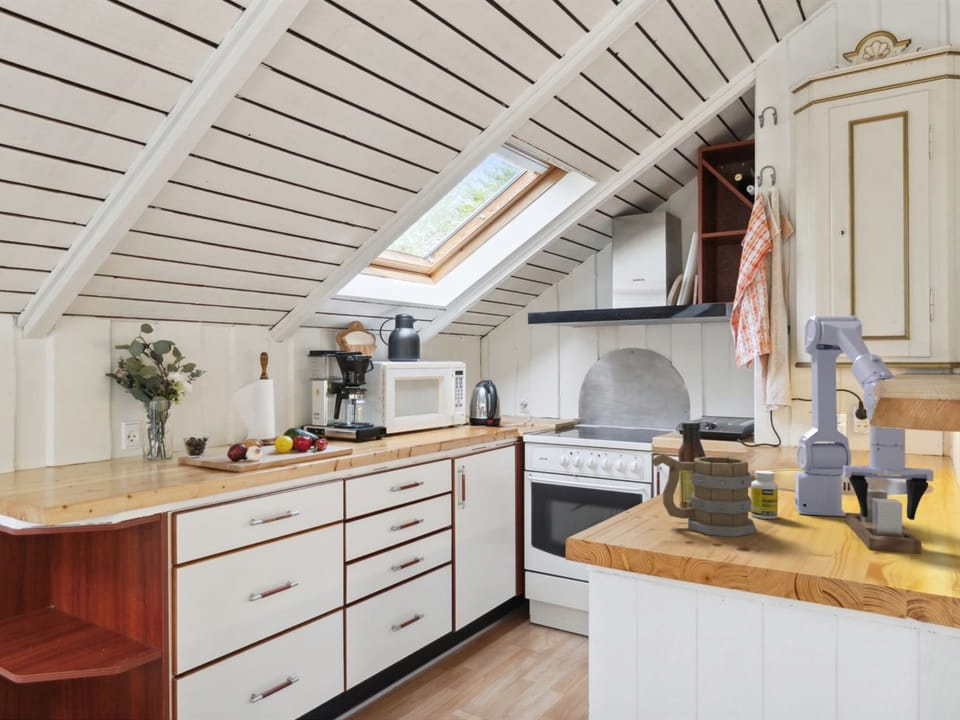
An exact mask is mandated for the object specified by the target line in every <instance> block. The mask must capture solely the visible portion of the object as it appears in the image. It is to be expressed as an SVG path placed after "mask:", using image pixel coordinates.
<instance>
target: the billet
mask: <svg viewBox="0 0 960 720" xmlns="http://www.w3.org/2000/svg"><path fill="white" fill-rule="evenodd" d="M872 503H873V536H886V537H901V538H902V526H903V503H902V502H900V500H898V499H893V498H887V499H876V498H872Z"/></svg>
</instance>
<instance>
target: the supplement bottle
mask: <svg viewBox="0 0 960 720" xmlns="http://www.w3.org/2000/svg"><path fill="white" fill-rule="evenodd" d="M754 478H755V480H752V481H751V487H750V499H751V502H752V504H751V512H750V514H751V517H754V518H756V519H762V520H772V519H774V520H775V519H776V518H777V517H778V508H779V507H778V505H779V504H778V497H779V496H778V495H779V487H778V484H777V482H775V481H774V480H775V472H774V471H771V470H755V471H754Z"/></svg>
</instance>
